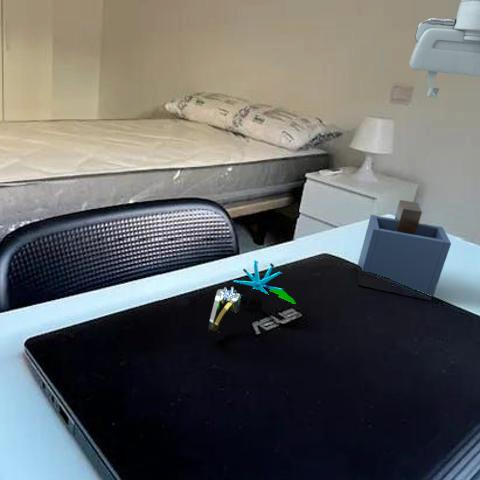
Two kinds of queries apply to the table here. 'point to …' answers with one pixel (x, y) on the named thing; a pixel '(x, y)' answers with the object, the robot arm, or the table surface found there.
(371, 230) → the box
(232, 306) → the ring
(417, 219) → the brown wooden block
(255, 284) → the blue flower
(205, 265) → the table surface
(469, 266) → the table surface
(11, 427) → the table surface
